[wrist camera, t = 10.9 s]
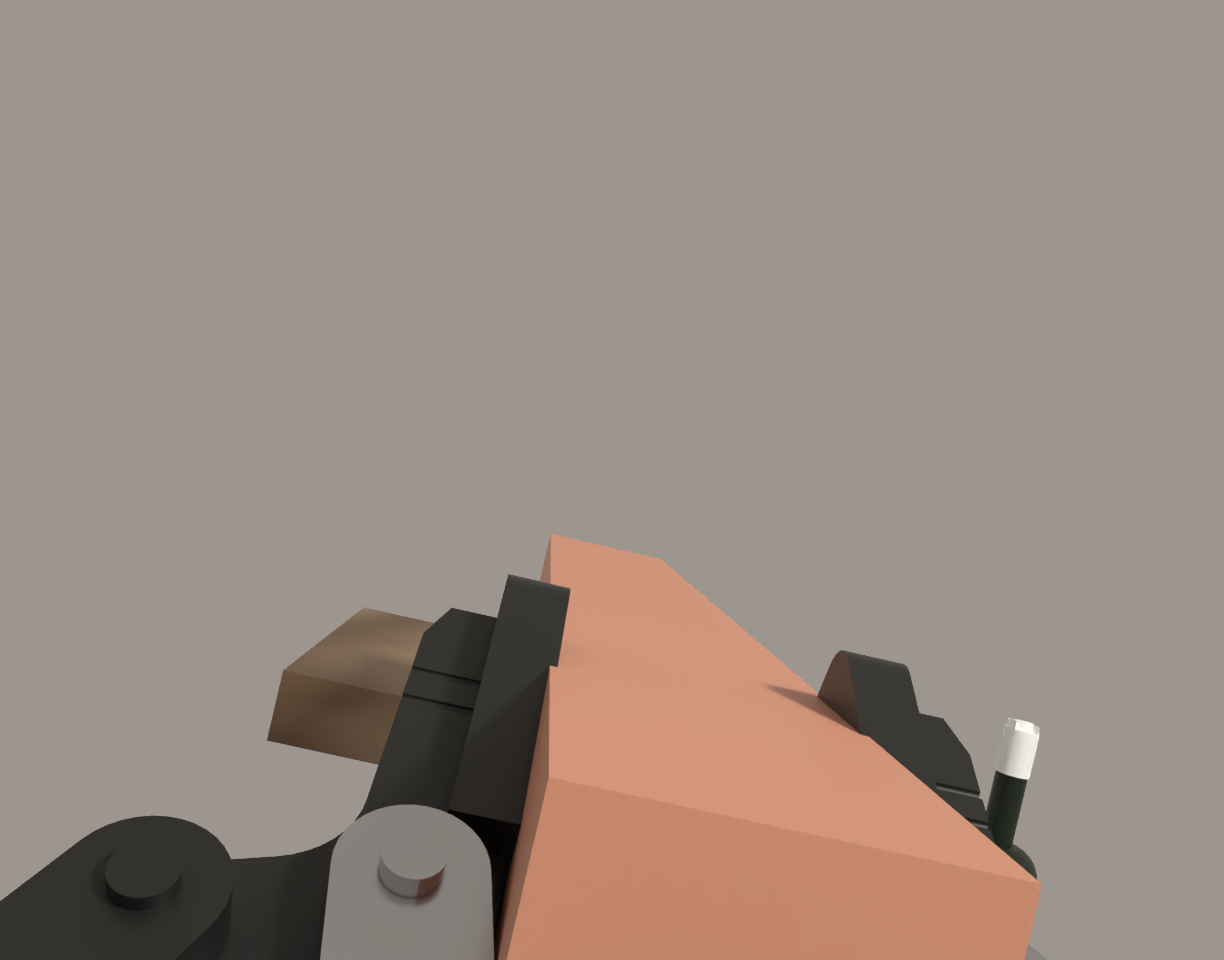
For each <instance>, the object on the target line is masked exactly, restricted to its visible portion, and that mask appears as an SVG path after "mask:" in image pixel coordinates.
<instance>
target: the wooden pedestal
mask: <svg viewBox="0 0 1224 960" xmlns="http://www.w3.org/2000/svg"><path fill="white" fill-rule="evenodd" d="M433 624H434V623H431V622H426V621H422V620H417V619H413V618H408V617H404V616H399V615H395V614H390V613H386V612H382V611H377V610H373V609H368V608H363V609H362V610H360V611H359V612H358V613H357V614H355V615H354V616H352V617H351V618H350V619H349V620H347V621H346V622H345V623H344V624H342V625H341V626H340V627H339V628H337V629H336V630H335V631H333V632H332V633H331V634H329V635H328V636H327V637H326V638H324V639H323V640H322V641H321V642H319V643H318V644H317V645H315V646H314V647H313V648H311V649H310V650H309V651H308V652H306V653H305V654H304V655H303V656H301V657H300V658H299V659H297V660H296V661H295V662H293V663H292V664H291V665H290V666H288V667H287V668H286V669H285V670H283V674H282V678H281V683H280V687H279V691H278V696H277V700H276V704H275V708H274V713H273V717H272V721H271V726H270V730H269V734H268V739H267V741H272V742H277V743H281V744H287V745H290V746H296V747H300V748H304V749H309V750H313V751H318V752H323V753H327V754H332V755H336V756H341V757H346V758H351V759H355V760H360V761H364V762H369V763H374V764H378V765H379V762H380V759H381V756H382V753H383V750H384V747H385V745H386V742H387V739H388V736H389V733H390V730H391V727H392V724H393V721H394V718H395V715H396V712H397V709H398V706H399V703H400V700H401V699H402V695H403V691H404V688H405V686H406V683H407V680H408V677H409V674H410V673H411V669H412V665H413V662H414V659H415V656H416V653H417V650H418V647H419V644H420V641H421V638H422V635H423V633H424V632H425V631H426V630H427V629H428V628H429V627H431V626H432V625H433Z"/></svg>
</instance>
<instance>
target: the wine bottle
mask: <svg viewBox="0 0 1224 960" xmlns="http://www.w3.org/2000/svg"><path fill="white" fill-rule="evenodd" d="M1039 729H1040V727H1037V726H1034V724H1032V723H1031V722H1026V721H1022V720H1017V719H1013V718H1010V717H1008V721H1007V724H1005V727H1004V731H1003V736H1002V739H1001V744H1000V748H999V752H998V756H997V761H996V765H995V770H996V772H995V776H994V781H993V785H992V789H991V793H990V798H989V802H988V806H987V810H986V814H987V818H988V821H989V823H988V830H991V832H992V836H993V839H994V843H995V845H997V846H998V847H999V848H1000V849H1001V850H1002V851H1004V852H1005V853H1006V854H1007V855H1008V856H1010V857H1011V858H1012V859H1013V860H1014V861H1015V862H1017V863H1018V864H1019V865H1020V866H1021V867H1022V868H1024V869H1025V870H1026V871H1027V872H1028V873H1029V874H1031V875H1032V876H1033V877H1034V878H1035V879H1036V880H1037V874H1036V870H1035V867H1034V864H1033V862H1032V860H1031V859H1030V857H1029V856H1028V855H1027V854H1026V853H1025V852H1024V851H1023V850H1022V849H1020V848H1019V847H1017V846H1016V845H1014V844H1012V843H1013V838H1014V835H1015V830H1016V826H1017V822H1018V818H1019V813H1020V809H1021V805H1022V800H1023V796H1024V792H1025V788H1026V783H1027V779H1029V778H1030V774H1031V769H1032V765H1033V761H1034V756H1035V752H1036V748H1037V744H1038V739H1039V735H1040V734H1039Z"/></svg>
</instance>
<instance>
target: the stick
mask: <svg viewBox="0 0 1224 960" xmlns="http://www.w3.org/2000/svg"><path fill="white" fill-rule="evenodd" d="M540 581H541V582H545V583H549V584H554V585H558V586H563V587H567V588H571V591H570V597H569V603H568V609H567V615H566V621H565V627H564V633H563V639H562V645H561V651H560V656H559V662H558V667H554V666H550V667H549V673H548V679H547V684H546V690H545V695H544V701H543V706H542V712H541V717H540V723H539V729H538V734H537V740H536V745H535V751H534V756H533V762H532V768H531V773H530V779H529V784H528V790H527V795H526V801H525V807H524V812H523V818H522V823H521V828H520V831H519V835H518V839H517V843H516V846H515V850H514V854H513V858H512V862H511V865H510V869H509V873H508V877H507V880H506V884H505V888H504V892H503V896H502V899H501V903H500V907H499V911H498V915H497V918H496V922H495V926H494V930H493V940H494V960H1025V955H1026V951H1027V947H1028V942H1029V938H1030V933H1031V929H1032V925H1033V921H1034V917H1035V912H1036V908H1037V904H1038V899H1039V895H1040V890H1041V886H1042V884H1041V883H1039V881H1038V880H1036V879H1035V878H1034V877H1033V876H1032V875H1031V874H1029V873H1028V872H1027V871H1026V870H1025V869H1024V868H1022V867H1021V866H1020V865H1019V864H1018V863H1017V862H1015V861H1014V860H1013V859H1012V858H1011V857H1010V856H1008V855H1007V854H1006V853H1005V852H1004V851H1002V850H1001V849H1000V848H999V847H998V846H997V845H995V844H994V843H993V842H992V841H991V840H990V839H988V838H987V837H986V836H985V835H984V834H983V833H981V832H980V831H979V830H978V829H977V828H976V827H974V826H973V825H972V824H971V823H970V822H968V821H967V820H966V819H965V818H964V817H963V816H961V815H960V814H959V813H958V812H957V811H956V810H954V809H953V808H952V807H951V806H950V805H949V804H947V803H946V802H945V801H944V800H943V799H941V798H940V797H939V796H938V795H937V794H936V793H934V792H933V791H932V790H931V789H930V788H929V787H927V786H926V785H925V784H924V783H923V782H922V781H920V780H919V779H918V778H917V777H916V776H915V775H913V774H912V773H911V772H910V771H909V770H907V769H906V768H905V767H904V766H903V765H902V764H900V763H899V762H898V761H897V760H896V759H895V758H893V757H892V756H891V755H890V754H889V753H888V752H886V751H885V750H884V749H883V748H882V747H881V746H879V745H878V744H877V743H876V742H875V741H873V740H872V739H871V738H870V737H869V736H864V735H861V734H860V733H859V732H857V731H856V730H855V729H854V728H853V727H852V726H851V725H849V724H848V723H847V722H846V721H845V720H844V719H842V718H841V717H840V716H839V715H838V714H837V713H836V712H834V711H833V710H832V709H831V708H830V707H829V706H827V705H826V704H825V703H824V702H823V701H822V700H821V699H819V698H818V697H817V696H818V693H817V692H816V691H815V690H814V689H813V688H811V687H810V686H809V685H808V684H806V683H805V682H804V681H803V680H802V679H801V678H800V677H798V676H797V675H796V674H795V673H794V672H793V671H791V670H790V669H789V668H788V667H787V666H786V665H784V664H783V663H782V662H781V661H780V660H778V659H777V658H776V657H775V656H774V655H773V654H771V653H770V652H769V651H768V650H767V649H766V648H764V647H763V646H762V645H761V644H760V643H759V642H757V641H756V640H755V639H754V638H753V637H751V636H750V635H749V634H748V633H747V632H746V631H744V630H743V629H742V628H741V627H740V626H739V625H737V624H736V623H735V622H734V621H733V620H732V619H730V618H729V617H728V616H727V615H726V614H725V613H723V612H722V611H721V610H720V609H719V608H717V607H716V606H715V605H714V604H713V603H712V602H710V601H709V600H708V599H707V598H706V597H705V596H703V595H702V594H701V593H700V592H699V591H697V590H696V589H695V588H694V587H693V586H692V585H690V584H689V583H688V582H687V581H686V580H685V579H684V578H682V577H681V576H680V575H679V574H678V573H676V572H675V571H674V570H673V569H672V568H671V567H669V566H668V565H667V564H666V563H665V562H663V561H662V560H661V559H659V558H655V557H650V556H646V555H642V554H637V553H633V552H628V551H624V550H620V549H616V548H611V547H607V546H602V545H598V544H594V543H589V542H585V541H580V540H576V539H572V538H567V537H563V536H559V535H554V534H551V536H550V540H549V544H548V548H547V553H546V557H545V561H544V566H543V570H542V575H541V579H540Z"/></svg>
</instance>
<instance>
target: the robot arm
mask: <svg viewBox="0 0 1224 960" xmlns="http://www.w3.org/2000/svg"><path fill="white" fill-rule="evenodd" d="M570 591H571V588H567V587H563V586H558V585H554V584H549V583H545V582H541V581H536V580H531V579H527V578H523V577H518V576H514V575H510V574H509V575H508V578H507V582H506V586H505V590H504V594H503V598H502V602H501V606H500V610H499V613H498V617H497V618H495V617H490V616H486V615H481V614H476V613H472V612H468V611H463V610H459V609H454V608H451V609H450V610H449V611H448V612H447V613H445V614H444V615H443V616H442V617H441V618H440V619H439V620H438V621H436V622H435V623H434V624H433V625H432V626H431V627H429V628H428V629H427V630H426V631H425V632H424V633H423V635H422V638H421V641H420V644H419V647H418V650H417V653H416V656H415V659H414V662H413V665H412V669H411V673H410V674H409V677H408V680H407V683H406V686H405V688H404V691H403V695H402V699H401V700H400V703H399V706H398V709H397V712H396V715H395V718H394V721H393V724H392V727H391V730H390V733H389V736H388V739H387V742H386V745H385V747H384V750H383V753H382V756H381V759H380V762H379V765H378V768H377V771H376V774H375V777H374V780H373V783H372V786H371V789H370V792H369V795H368V798H367V800H366V803H365V805H364V807H363V809H362V811H361V813H360V814H359V816H358V817H357V818H356V820H355V821H354V822H353V823H352V824H351V825H350V826H349V827H348V828H347V829H346V830H345V831H344V832H342V833H341V834H340V835H338V836H337V837H336V838H334V839H333V840H331V841H329V842H327V843H325V844H323V845H321V846H319V847H316V848H313V849H311V850H308V851H304V852H301V853H296V854H293V855H285V856H277V857H261V858H247V859H230V856H229V854H228V852H227V851H226V849H225V847H224V846H223V845H222V843H221V842H220V841H219V840H218V839H217V838H216V837H215V836H214V835H212V834H211V833H210V832H209V831H207V830H206V829H204V828H202V827H200V826H198V825H196V824H195V823H192V822H189V821H186V820H183V819H178V818H172V817H167V816H143V817H135V818H130V819H125V820H121V821H118V822H115V823H112V824H109V825H106V826H104V827H102V828H100V829H98V830H96V831H94V832H92V833H91V834H89V835H88V836H86V837H85V838H83V839H81V840H80V841H79V842H78V843H76V844H75V845H74V846H72V847H71V848H70V849H68V850H67V851H66V852H64V853H63V854H62V855H60V856H59V857H58V858H56V859H55V860H54V861H52V862H51V863H50V864H49V865H47V866H46V867H45V868H43V869H42V870H41V871H39V872H38V873H37V874H36V875H34V876H33V877H31V878H30V879H29V880H28V881H26V882H25V883H24V884H22V885H21V886H20V887H18V888H17V889H16V890H14V891H13V892H12V893H10V894H9V895H8V896H7V897H5V898H4V899H3V900H1V901H0V960H494V940H493V930H494V926H495V922H496V918H497V915H498V911H499V907H500V903H501V899H502V896H503V892H504V888H505V884H506V880H507V877H508V873H509V869H510V865H511V862H512V858H513V854H514V850H515V846H516V843H517V839H518V835H519V831H520V828H521V823H522V818H523V812H524V807H525V801H526V795H527V790H528V784H529V779H530V773H531V768H532V762H533V756H534V751H535V745H536V740H537V734H538V729H539V723H540V717H541V712H542V706H543V701H544V695H545V690H546V684H547V679H548V673H549V667H550V666H554V667H558V662H559V656H560V651H561V645H562V639H563V633H564V627H565V621H566V615H567V609H568V603H569V597H570ZM817 697H818V698H819V699H821V700H822V701H823V702H824V703H825V704H826V705H827V706H829V707H830V708H831V709H832V710H833V711H834V712H836V713H837V714H838V715H839V716H840V717H841V718H842V719H844V720H845V721H846V722H847V723H848V724H849V725H851V726H852V727H853V728H854V729H855V730H856V731H857V732H859V733H860V734H861V735H864V736H869V737H870V738H871V739H872V740H873V741H875V742H876V743H877V744H878V745H879V746H881V747H882V748H883V749H884V750H885V751H886V752H888V753H889V754H890V755H891V756H892V757H893V758H895V759H896V760H897V761H898V762H899V763H900V764H902V765H903V766H904V767H905V768H906V769H907V770H909V771H910V772H911V773H912V774H913V775H915V776H916V777H917V778H918V779H919V780H920V781H922V782H923V783H924V784H925V785H926V786H927V787H929V788H930V789H931V790H932V791H933V792H934V793H936V794H937V795H938V796H939V797H940V798H941V799H943V800H944V801H945V802H946V803H947V804H949V805H950V806H951V807H952V808H953V809H954V810H956V811H957V812H958V813H959V814H960V815H961V816H963V817H964V818H965V819H966V820H967V821H968V822H970V823H971V824H972V825H973V826H974V827H976V828H977V829H978V830H979V831H980V832H981V833H983V834H984V835H985V836H986V837H987V838H988V839H990V840H991V841H992V842H993V843H994V839H993V836H992V832H991V830H988V823H989V821H988V818H987V814H986V811H985V807H984V804H983V801H982V799H979V794H980V790H979V786H978V783H977V779H976V775H975V772H974V768H973V765H972V761H971V757H970V754H969V753H968V752H967V750H966V749H965V748H964V746H963V745H962V744H961V742H960V741H959V740H958V738H957V737H956V735H955V734H954V733H953V732H952V730H951V729H950V727H949V726H948V725H947V723H946V722H945V721H944V719H942V718H938V717H933V716H929V715H925V714H920V713H919V710H918V706H917V702H916V698H915V693H914V689H913V685H912V681H911V676H910V673H909V670H908V668H907V666H906V665H904V664H900V663H895V662H891V661H887V660H883V659H878V658H874V657H869V656H865V655H860V654H856V653H852V652H847V651H843V650H842V651H839V652H838V653H837V654H836V655H835V657H834V659H833V660H832V663H831V665H830V667H829V669H828V672H827V674H826V676H825V679H824V681H823V684H822V686H821V689H820V691H819V693H818V696H817ZM994 844H995V843H994ZM1025 960H1047V959H1045V958H1044V957H1043V956H1042V955H1041V954H1040V953H1039V952H1037V951H1036V950H1035V949H1033V948H1032V947H1031V946H1029V945H1028V947H1027V951H1026V955H1025Z"/></svg>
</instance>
